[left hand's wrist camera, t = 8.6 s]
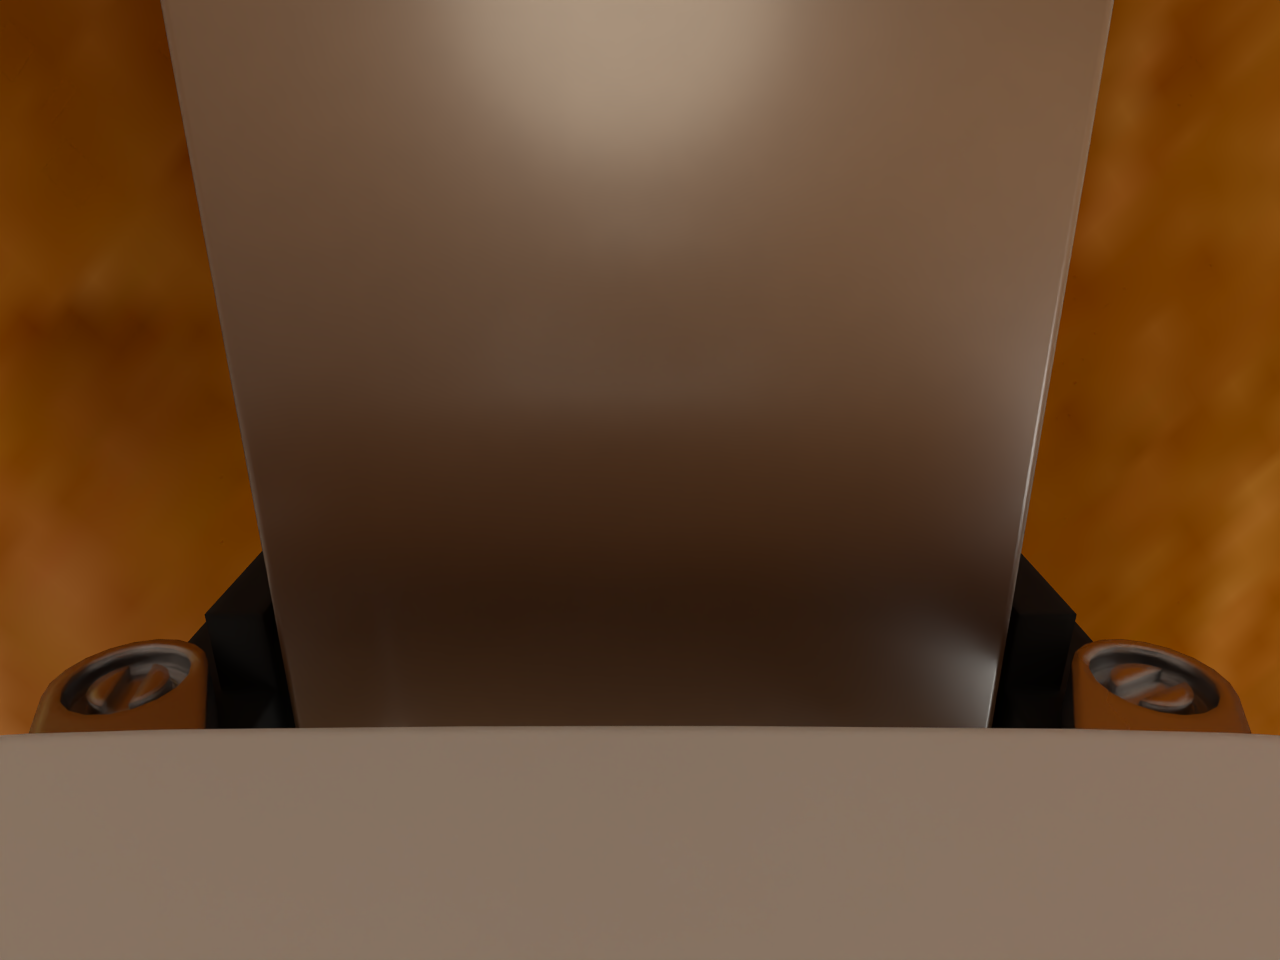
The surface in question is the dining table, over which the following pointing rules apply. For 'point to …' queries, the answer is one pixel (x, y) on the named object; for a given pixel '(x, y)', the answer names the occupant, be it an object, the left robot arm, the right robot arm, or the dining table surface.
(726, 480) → the beam
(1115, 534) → the dining table surface
